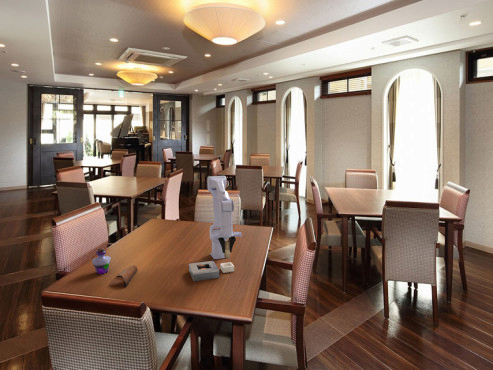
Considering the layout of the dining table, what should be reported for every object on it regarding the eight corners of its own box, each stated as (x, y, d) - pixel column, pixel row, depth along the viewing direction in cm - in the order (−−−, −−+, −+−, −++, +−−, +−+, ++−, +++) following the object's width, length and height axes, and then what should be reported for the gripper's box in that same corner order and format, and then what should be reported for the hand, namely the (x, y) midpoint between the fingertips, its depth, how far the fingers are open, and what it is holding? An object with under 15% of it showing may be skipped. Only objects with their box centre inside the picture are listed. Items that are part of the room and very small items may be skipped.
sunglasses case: (120, 271, 164) (126, 260, 163) (133, 278, 165) (139, 266, 164) (106, 288, 146) (114, 275, 146) (121, 295, 147) (128, 282, 146)
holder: (220, 268, 167) (220, 263, 167) (231, 267, 169) (231, 262, 169) (223, 272, 162) (223, 267, 162) (234, 271, 164) (234, 266, 163)
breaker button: (199, 271, 161) (199, 268, 161) (206, 270, 162) (206, 267, 162) (201, 274, 158) (201, 271, 158) (207, 273, 159) (207, 270, 159)
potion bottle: (105, 276, 158) (103, 252, 157) (88, 275, 160) (86, 250, 158) (115, 269, 167) (114, 246, 165) (100, 268, 169) (98, 245, 167)
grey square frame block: (189, 271, 164) (189, 263, 163) (213, 268, 167) (213, 260, 167) (193, 281, 152) (193, 273, 152) (219, 277, 156) (219, 269, 156)
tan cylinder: (223, 256, 165) (223, 240, 164) (229, 255, 166) (228, 240, 165) (225, 258, 163) (224, 242, 162) (230, 257, 164) (230, 241, 162)
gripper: (213, 228, 156) (214, 256, 158) (243, 225, 161) (243, 253, 163) (210, 224, 163) (211, 251, 165) (239, 222, 168) (239, 248, 169)
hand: (226, 252), depth 164 cm, fingers closed on tan cylinder, 3 cm apart
